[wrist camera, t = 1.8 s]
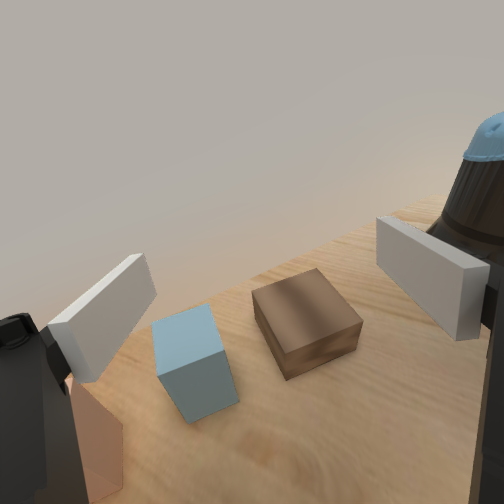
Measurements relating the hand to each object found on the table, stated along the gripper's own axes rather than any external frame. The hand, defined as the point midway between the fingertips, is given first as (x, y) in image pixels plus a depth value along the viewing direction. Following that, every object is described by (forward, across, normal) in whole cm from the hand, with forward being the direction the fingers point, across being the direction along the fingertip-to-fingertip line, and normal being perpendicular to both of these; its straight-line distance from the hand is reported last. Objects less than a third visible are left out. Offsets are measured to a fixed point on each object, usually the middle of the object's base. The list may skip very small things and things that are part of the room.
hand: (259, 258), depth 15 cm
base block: (+17, -3, +19) cm, 26 cm away
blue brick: (+10, +9, +20) cm, 24 cm away
